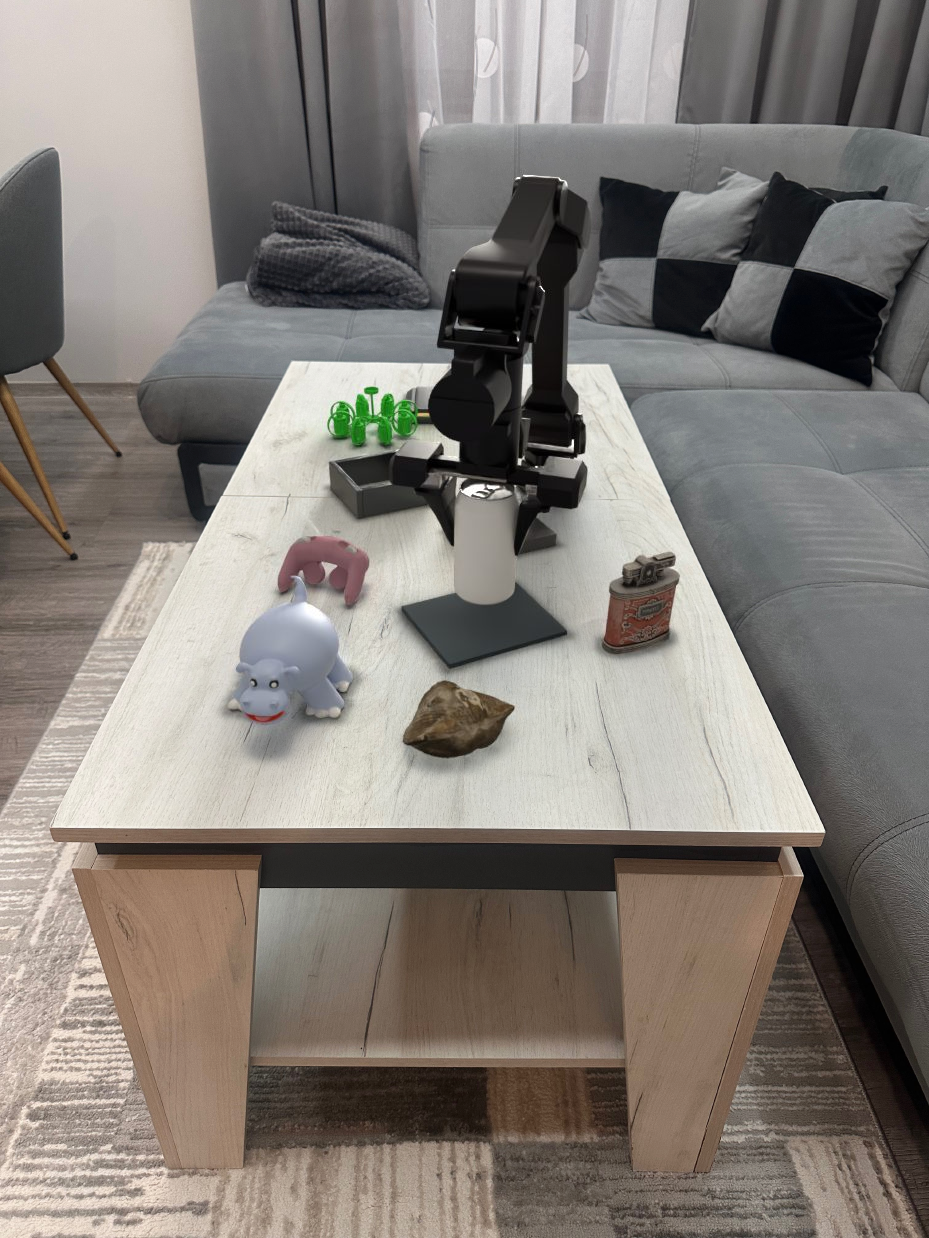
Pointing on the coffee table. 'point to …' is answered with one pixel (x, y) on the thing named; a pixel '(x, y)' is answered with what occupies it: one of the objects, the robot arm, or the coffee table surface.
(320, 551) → the video game controller
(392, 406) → the chandelier
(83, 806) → the coffee table surface
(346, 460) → the box
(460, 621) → the mat
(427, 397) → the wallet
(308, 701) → the hippopotamus toy
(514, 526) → the can
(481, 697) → the fossilized seashell
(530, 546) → the button box
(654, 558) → the lighter
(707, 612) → the coffee table surface
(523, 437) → the robot arm
